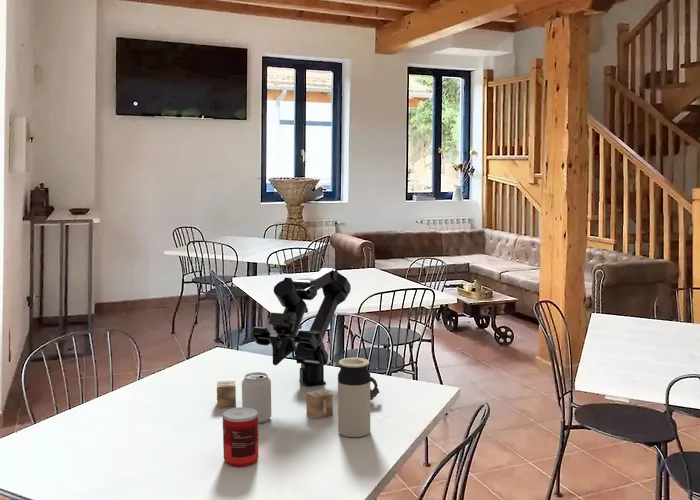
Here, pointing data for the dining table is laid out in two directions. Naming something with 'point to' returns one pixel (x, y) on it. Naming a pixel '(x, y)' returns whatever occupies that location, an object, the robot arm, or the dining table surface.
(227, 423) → the canned food
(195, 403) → the dining table surface
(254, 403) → the can
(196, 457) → the dining table surface
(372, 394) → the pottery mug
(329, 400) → the marked block 2
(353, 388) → the travel mug
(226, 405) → the marked block 1
